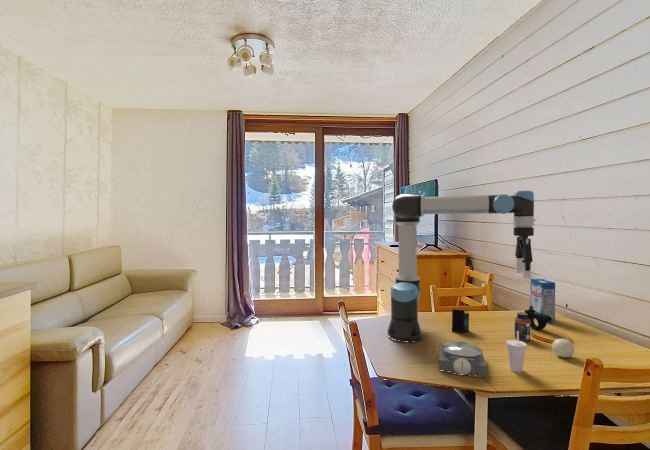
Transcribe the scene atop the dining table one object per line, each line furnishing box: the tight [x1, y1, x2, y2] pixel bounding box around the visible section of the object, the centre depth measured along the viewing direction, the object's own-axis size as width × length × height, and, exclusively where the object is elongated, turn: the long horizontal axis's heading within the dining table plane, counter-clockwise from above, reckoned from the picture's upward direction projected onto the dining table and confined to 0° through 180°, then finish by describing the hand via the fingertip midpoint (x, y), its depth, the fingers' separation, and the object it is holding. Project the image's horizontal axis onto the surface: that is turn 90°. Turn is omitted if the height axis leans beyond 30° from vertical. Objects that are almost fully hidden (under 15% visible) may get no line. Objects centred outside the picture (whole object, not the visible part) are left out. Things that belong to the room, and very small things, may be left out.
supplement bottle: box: [514, 311, 531, 342], centre depth 145 cm, size 6×6×11 cm
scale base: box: [438, 343, 487, 378], centre depth 121 cm, size 15×16×6 cm
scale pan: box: [442, 340, 482, 358], centre depth 121 cm, size 13×13×1 cm
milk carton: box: [529, 278, 556, 323], centre depth 170 cm, size 10×6×20 cm, turn 179°
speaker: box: [451, 308, 470, 334], centre depth 156 cm, size 8×6×10 cm
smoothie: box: [505, 331, 528, 373], centre depth 117 cm, size 6×6×14 cm
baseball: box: [551, 338, 575, 359], centre depth 127 cm, size 7×7×7 cm
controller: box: [524, 305, 552, 330], centre depth 156 cm, size 4×12×10 cm, turn 18°
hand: (523, 275), depth 144 cm, fingers open, 13 cm apart
